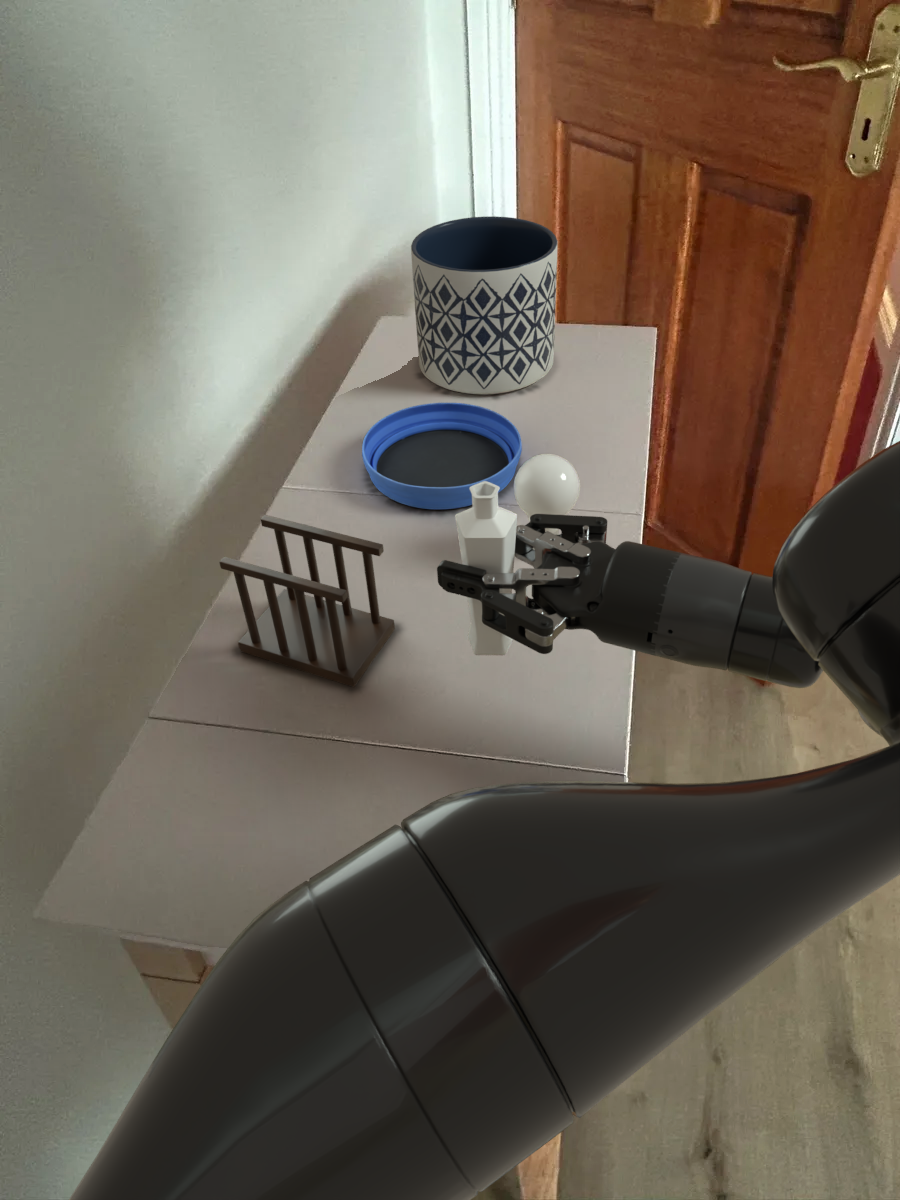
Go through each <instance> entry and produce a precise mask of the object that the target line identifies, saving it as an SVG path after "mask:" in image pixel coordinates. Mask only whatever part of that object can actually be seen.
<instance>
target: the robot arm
mask: <svg viewBox="0 0 900 1200" xmlns="http://www.w3.org/2000/svg"><path fill="white" fill-rule="evenodd" d="M545 528H553V529H559V531H560V532H561V533H559V535H555V534H553V533H551V532H549V531H546V532H545ZM607 531H608V519H607V518H605V517H603V516H591V515H571V514H567V515H552V514H534V515H532V516H531V517H530V522H529V521H528V522H527V523H526V524H519V525H518V524H517V527H516V541H515V555H514V558H516V559H518V560H520V561H521V562H524V563H526V564H528V565H529V566H531V567H533V568H528V567H526V568H524V567H520V568H518V569H517V570H515V572H513V573H487V574H486V570H484V569H480V568H476V567H472V566H468V565H464V564H462V563H459V562H455V561H452V560H447V559H443V560H441V562H440V563H439V564H438V565H437V567H436V575H437V576H436V577H437V583H438V585H439V586H440V588H442V590H444V591H446V593H450V594H455V595H457V596H463V597H466V598H467V597H469V598H473V599H477V600H479V601H481V602H482V622H483V624H485V625H486V626H488V627H490V628H492V629H494V630H496V631H498V632H500V633H502V634H504V635H506V636H508V637H510V638H511V639H513V641H515V642H517V643H519V644H521V645H523V646H525V647H527V648H528V649H531V650H533V651H535V652H536V653H539V654H541V655H547V654H550V653H551V652H552V651H553V649H554V640H555V639H556V638H557V637H558V636H559V635H560V634H561V633H563V631H564V630H569V631H573V630H587V631H590V632H591V633H593V634H594V635H595V636H596V637H597V638H598V639H599V641H600V642H601V643H604V644H608V645H612V646H615V647H620V648H623V649H628V650H632V651H635V652H639V653H641V654H647V655H649V656H653V657H658V658H662V659H666V660H669V661H673V662H676V663H681V664H684V665H689V666H694V667H700V668H706V669H707V668H708V669H716V670H721V671H727V672H728V673H729V672H730V673H733V674H737V675H741V676H745V677H749V678H753V679H757V680H759V681H764V682H769V683H771V684H777V685H780V686H785V687H789V688H793V689H807V688H809V687H811V686H813V685H814V684H815V683H816V682H817V681H818V680H819V679H820V677H821V675H822V674H823V672H824V673H825V675H826V676H827V677H828V678H829V679H830V680H831V681H832V683H834V684H835V686H836V687H837V688H838V689H839V690H840V691H841V692H842V694H843V695H844V696H845V697H846V698H847V699H848V700H849V702H851V704H852V705H853V706H854V708H856V709H857V710H856V711H857V713H858V715H859V717H860V718H861V720H862V721H863V723H865V725H866V726H867V727H868V728H869V729H871V730H872V732H874V733H875V734H877V735H879V736H880V737H881V738H883V739H884V740H885V741H886V743H887V744H888V746H886V747H883V748H880V749H878V750H874V751H871V752H869V753H866V754H863V755H859V756H858V757H854V758H852V759H848V760H845V761H841V762H836V763H832V764H828V765H823V766H820V767H816V768H812V769H809V770H808V769H807V770H804V771H801V772H796V773H789V774H784V775H777V776H771V777H762V778H754V779H744V780H732V781H722V782H721V781H720V782H695V783H694V782H687V783H683V782H682V783H679V782H678V783H673V782H672V783H671V782H669V783H668V782H637V781H636V782H633V781H591V780H590V781H588V780H587V781H586V780H561V781H560V780H559V781H557V780H556V781H524V782H511V783H501V784H493V785H486V786H479V787H473V788H469V789H465V790H461V791H457V792H453V793H450V794H447V795H445V796H443V797H440V798H438V799H436V800H433V801H432V802H431V801H430V802H429V803H428V804H426V805H424V806H423V807H421V808H419V809H417V810H416V811H415V812H413V813H412V814H410V815H408V816H406V817H405V818H403V819H402V820H401V822H400V825H399V824H394V825H392V826H390V827H388V828H387V829H386V830H384V831H382V832H381V833H379V834H377V835H376V836H375V837H373V838H372V839H369V840H368V841H367V842H365V843H364V844H362V845H360V846H359V847H357V848H356V849H354V850H352V851H351V852H349V853H348V854H346V855H344V856H343V857H341V858H340V859H338V860H336V861H334V862H333V863H331V864H330V865H328V866H326V867H325V868H324V869H322V870H320V871H319V872H317V873H316V874H314V875H313V876H311V877H309V879H308V880H304V881H303V882H301V883H300V884H298V885H296V886H295V887H294V888H292V889H291V890H289V891H288V892H287V893H285V894H284V895H282V896H281V897H279V898H277V899H276V900H274V902H272V903H271V904H270V905H268V906H267V907H266V908H265V909H263V910H262V911H261V912H260V913H259V914H258V915H257V916H255V917H254V918H253V919H252V920H251V921H250V922H249V923H248V924H247V926H245V928H244V929H243V930H242V931H241V932H240V933H239V934H238V935H237V936H236V938H235V939H234V940H233V941H232V942H231V944H230V945H229V946H228V948H227V949H226V950H225V952H224V953H223V954H221V955H222V956H220V958H219V959H218V960H217V962H216V963H215V965H214V966H213V967H212V969H211V970H210V972H209V973H208V975H207V976H206V977H205V979H204V980H203V981H202V983H201V985H200V986H199V988H198V989H197V990H196V993H195V994H194V995H193V997H192V999H191V1000H190V1002H189V1003H188V1004H187V1006H186V1008H185V1010H184V1011H183V1013H182V1014H181V1016H180V1018H179V1019H178V1020H177V1022H176V1024H175V1025H174V1027H173V1028H172V1030H171V1031H170V1033H169V1035H168V1036H167V1038H166V1040H165V1041H164V1042H163V1044H162V1046H161V1048H160V1049H159V1050H158V1053H157V1054H156V1055H155V1057H154V1059H153V1060H152V1062H151V1064H150V1066H149V1067H148V1069H147V1071H146V1072H145V1074H144V1075H143V1076H142V1078H141V1080H140V1081H139V1084H138V1085H137V1087H136V1088H135V1091H134V1092H133V1094H132V1095H131V1097H130V1099H129V1101H128V1102H127V1104H126V1106H125V1107H124V1109H123V1111H122V1113H121V1114H120V1116H119V1117H118V1119H117V1121H116V1122H115V1124H114V1126H113V1128H112V1129H111V1131H110V1133H109V1134H108V1136H107V1138H106V1140H104V1143H103V1145H102V1146H101V1148H100V1149H99V1151H98V1153H97V1155H96V1156H95V1158H94V1160H93V1161H92V1162H91V1164H90V1166H89V1167H88V1169H87V1170H86V1172H85V1174H84V1175H83V1176H82V1178H81V1180H80V1181H79V1182H78V1184H77V1186H76V1188H75V1189H74V1191H73V1193H71V1195H70V1197H69V1199H68V1200H472V1199H474V1198H475V1197H477V1196H478V1195H479V1192H481V1193H483V1191H485V1190H486V1189H487V1188H489V1187H490V1186H491V1185H493V1184H495V1182H497V1181H498V1180H500V1179H501V1178H503V1176H505V1175H507V1173H509V1172H511V1170H513V1169H514V1168H516V1167H517V1166H518V1165H520V1164H521V1163H522V1162H523V1161H525V1160H526V1159H528V1158H529V1157H530V1156H531V1155H533V1154H535V1152H537V1151H538V1150H539V1149H541V1148H543V1147H544V1146H545V1145H546V1144H548V1143H549V1142H550V1141H552V1140H553V1139H555V1138H556V1137H557V1136H559V1135H560V1134H561V1133H562V1132H564V1131H565V1130H567V1129H568V1128H569V1127H571V1126H572V1125H573V1124H574V1121H575V1119H574V1117H576V1118H578V1119H581V1118H582V1117H584V1115H586V1114H587V1113H588V1112H589V1111H591V1110H592V1109H593V1108H594V1107H595V1106H597V1105H598V1104H599V1103H601V1101H603V1100H605V1099H606V1097H608V1096H609V1095H610V1094H611V1093H613V1092H614V1091H615V1090H616V1089H617V1088H619V1087H620V1086H621V1085H622V1084H624V1083H625V1082H626V1081H627V1080H628V1079H630V1078H631V1077H632V1076H633V1075H634V1074H636V1073H637V1072H638V1071H639V1070H640V1069H642V1068H643V1067H644V1066H645V1065H646V1064H648V1063H649V1062H650V1061H652V1060H653V1059H654V1058H655V1057H657V1056H658V1055H659V1054H661V1053H662V1052H663V1051H664V1050H665V1049H667V1048H668V1047H670V1045H671V1044H673V1043H674V1042H675V1041H677V1040H678V1039H679V1038H680V1037H681V1036H683V1035H684V1034H685V1033H686V1032H688V1031H689V1030H690V1029H691V1028H693V1027H695V1026H696V1025H697V1024H698V1023H699V1022H700V1021H701V1020H703V1019H704V1018H706V1017H707V1016H708V1015H710V1014H711V1013H712V1012H713V1011H715V1009H717V1008H718V1007H719V1006H720V1005H722V1004H723V1003H725V1002H726V1001H727V1000H728V999H730V998H731V997H732V996H733V995H735V994H736V993H737V992H739V991H740V990H741V989H742V988H744V987H745V986H746V985H747V984H749V983H750V982H752V980H754V979H755V978H756V977H757V976H759V975H760V974H761V973H763V972H764V971H765V970H766V969H768V968H769V967H770V966H771V965H773V964H774V963H775V962H776V961H778V960H779V959H780V958H782V957H783V956H784V955H786V954H787V953H788V952H790V951H791V950H793V949H794V948H795V947H796V946H798V945H799V944H800V943H802V942H803V941H805V940H806V939H807V938H809V937H810V936H811V935H813V934H814V933H816V932H817V931H818V930H820V929H821V928H822V927H824V926H825V925H827V924H828V923H830V922H831V921H833V920H834V919H836V918H837V917H839V916H840V915H841V914H843V913H844V912H846V911H848V910H849V909H850V908H852V907H853V906H854V905H856V904H857V903H859V902H860V901H862V900H863V899H865V898H867V897H868V896H869V895H871V894H873V893H874V892H876V891H877V890H879V889H880V888H882V887H884V886H885V885H887V884H889V882H891V881H893V880H895V879H896V878H897V877H899V876H900V440H899V441H896V442H895V443H893V444H891V445H889V446H887V447H885V448H883V449H881V450H880V451H879V452H877V453H875V454H873V456H871V457H869V458H868V459H867V460H865V461H864V462H862V463H861V464H859V465H858V466H857V467H856V468H854V469H853V470H851V472H849V473H848V474H847V475H845V476H844V477H843V478H842V479H841V480H839V481H838V482H837V483H835V485H833V486H832V487H831V488H830V489H829V490H827V492H825V493H824V495H822V496H821V497H820V498H819V499H818V500H817V501H816V502H815V503H814V504H813V505H812V506H811V507H810V508H809V509H808V510H807V511H806V512H805V514H804V515H803V516H802V517H801V518H800V519H799V521H798V522H797V523H796V524H795V525H794V526H793V528H792V529H791V530H790V532H789V534H788V535H787V537H786V539H785V540H784V542H783V543H782V545H781V547H780V550H779V552H778V554H777V556H776V558H775V561H774V565H773V569H772V576H771V575H766V574H762V573H758V572H753V573H752V571H749V570H746V569H743V568H740V567H737V566H734V565H731V564H729V563H726V562H723V561H719V560H715V559H712V558H707V557H703V556H698V555H694V554H689V553H684V552H680V551H675V550H671V549H666V548H662V547H657V546H652V545H648V544H643V543H638V542H635V541H630V540H626V541H623V542H621V543H619V545H617V546H616V548H613V547H612V546H610V545H609V544H608V543H607V534H608V532H607ZM533 548H534V549H535V550H534V549H533ZM529 586H531V597H532V598H531V597H529V596H528V595H527V588H528V587H529ZM500 589H512V591H514V593H513V592H512V594H509V593H500ZM499 612H500V613H502V614H503V615H502V614H500V613H499Z"/></svg>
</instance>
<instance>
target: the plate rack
mask: <svg viewBox="0 0 900 1200" xmlns="http://www.w3.org/2000/svg"><path fill="white" fill-rule="evenodd" d="M260 524H261V526H262V527H264V528H267V529H272V530H273V531H274V535H275V540H276V545H277V549H278V553H279V560H280V563H281V569H282V571H278V570H274V569H270V568H267V567H263V566H260V565H256V564H254V563H253V564H252V563H250V562H249V563H248V562H245V561H241V560H239V559H235V558H230V557H227V556H223V557H222V558H221V559H220V560H219V566H220V569H221V570H225V571H228V572H232V573H233V575H234V579H235V583H236V588H237V591H238V595H239V599H240V603H241V606H242V611H243V614H244V617H245V622H246V626H247V631H246V632H245V634H244V635H243V636H242V637H241V638H240V639H239V640H238V642H237V644H238V649H239V651H240V652H241V653H245V654H248V655H251V656H254V657H257V658H260V659H262V660H263V659H264V660H266V661H269V662H273V663H275V664H280V665H282V666H286V667H289V668H291V669H292V668H293V669H295V670H298V671H301V672H305V673H307V674H311V675H314V676H318V677H321V678H323V679H327V680H330V681H333V682H336V683H338V684H343V685H346V686H349V687H353V688H355V687H356V685H357V684H358V683H359V681H360V680H361V678H362V677H363V676H364V674H365V673H366V671H367V670H368V668H369V667H370V666H371V664H372V662H373V661H374V659H375V658H376V657H377V656H378V654H379V653H380V651H381V650H382V648H383V647H384V645H385V644H386V643H387V641H388V639H389V638H390V637H391V635H392V634H393V633H394V632H395V630H396V626H395V620H394V619H392V618H389V617H385V616H382V615H380V614H381V613H380V608H379V607H380V606H379V600H378V599H379V598H378V592H377V591H378V590H377V585H376V577H375V576H376V575H375V569H374V568H375V567H374V561H373V556H376V557H381V555H382V554H383V553H384V551H385V550H384V549H385V548H384V543H383V544H382V543H379V542H375V541H372V540H368V539H363V538H359V537H355V536H352V535H348V534H343V533H340V532H335V531H331V530H327V529H324V528H319V527H317V526H316V527H315V526H312V525H308V524H304V523H300V522H296V521H292V520H289V519H285V518H280V517H276V516H272V515H268V514H264V515H263V516H262V517H261V518H260ZM285 533H287V534H291V535H295V536H297V537H302V541H303V546H304V551H305V556H306V561H307V567H308V572H309V577H310V579H307V578H303V577H300V576H297V575H294V574H293V569H292V565H291V560H290V559H291V558H290V555H289V551H288V546H287V541H286V540H287V539H286V536H285ZM313 540H314V541H319V542H321V543H326V544H330V545H331V547H332V553H333V558H334V559H333V560H334V563H335V564H334V565H335V571H336V578H337V583H338V587H335V586H333V585H328V584H325V583H323V582H321V578H320V573H319V568H318V563H317V558H316V557H317V556H316V551H315V546H314V541H313ZM343 548H346V549H349V550H353V551H357V552H361V555H362V562H363V568H364V576H365V583H366V590H367V591H366V592H367V597H368V606H369V612H367V611H364V610H360V609H357V608H353V607H352V605H351V597H350V590H349V584H348V579H347V572H346V565H345V559H344V552H343ZM245 576H246V577H250V578H252V579H253V578H254V579H257V580H260V581H263V582H262V583H263V586H264V590H265V595H266V598H267V603H268V607H267V608H266V609H265V611H264V612H262V614H261V615H260V616H259V617H258V619H256V616H255V612H254V608H253V606H252V605H253V604H252V600H251V597H250V593H249V588H248V584H247V581H246V577H245ZM275 585H279V586H282V587H284V589H282V591H281V592H280V593H279V594H278V595H277V592H276V587H275ZM305 593H306V594H305ZM307 594H310V595H307ZM311 595H313V596H311ZM337 602H339V603H341V604H339V603H337Z"/></svg>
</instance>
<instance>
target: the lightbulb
mask: <svg viewBox="0 0 900 1200" xmlns="http://www.w3.org/2000/svg"><path fill="white" fill-rule="evenodd" d="M580 492H581V481H580V477H579V474H578V472H577V470H576V468H575V466H574V465H573V464H572V463H571V462H570V461H569V460H567V459H566V458H564V457H563V456H560V455H558V454H553V453H541V454H537V455H534V456H532V457H530V458H528V459H527V460H526V461H524V463H522V465H520V468H519V469H518V470H517V472H516V474H515V476H514V481H513V494H514V498H515V501H516V503H517V505H518V506H519V508H520V509H521V511H523V513H524V514H525V515H526V517H527V519H528V523H529V522H530V517H531V516H532V515H534V514H552V515H569V513H570V512H571V511H572V510H573V508H574V507H575V505H576V503H577V502H578V500H579V496H580ZM546 531H549V532H551V533H553V534H555V535H560V529H553V528H545V532H546ZM533 549H534V548H533ZM534 550H535V549H534Z"/></svg>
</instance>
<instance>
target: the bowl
mask: <svg viewBox="0 0 900 1200" xmlns="http://www.w3.org/2000/svg"><path fill="white" fill-rule="evenodd" d="M522 451H523V446H522V436H521V433H520V432H519V430H518V429H517V427H516V426H515V424H513V423H512V421H510V419H508V418H507V417H506V416H503V415H502V414H500V413H499V412H497V411H494V410H491V409H490V408H486V407H483V406H479V405H476V404H470V403H463V402H430V403H423V404H418V405H413V406H409V407H405V408H402V409H399V410H396V411H394V412H392V413H390V414H388V415H385V416H384V417H383V418H381V419H379V420H378V421H376V422H375V423H374V424H373V425H372V426H371V427H370V428H369V430H368V431H367V432H366V434H365V435H364V437H363V441H362V445H361V456H362V462H363V464H364V467H365V470H366V471H367V473H368V476H369V478H370V480H371V482H372V484H373V485H374V487H375V488H376V489H377V490H378V491H379V492H380V493H382V495H384V496H386V497H387V498H388V499H391V500H392V501H395V502H397V503H399V504H401V505H405V506H408V507H412V508H417V509H424V510H453V509H459V508H465V507H469V506H472V494H471V491H470V489H469V488H470V487H471V486H473V485H475V484H478V483H480V482H483V481H487V482H490V483H492V484H495V485H497V486H499V487H500V489H499V491H498V494H499V493H500V492H502V491H503V490H504V489H505V488H507V486H508V485H509V484H510V482H511V481H512V480H513V478H514V477H515V475H516V474H515V473H516V470H517V466H518V464H519V462H520V458H521V456H522Z"/></svg>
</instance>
